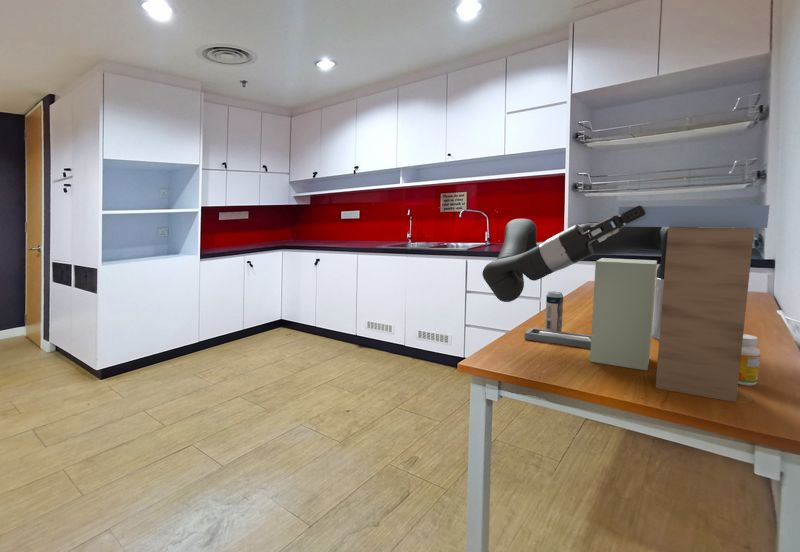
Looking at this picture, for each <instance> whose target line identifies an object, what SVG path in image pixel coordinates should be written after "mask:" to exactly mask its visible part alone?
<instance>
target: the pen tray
mask: <svg viewBox="0 0 800 552" xmlns="http://www.w3.org/2000/svg"><path fill="white" fill-rule="evenodd" d="M540 331H544V332H551V333H559V334H566V335H574V336H581V337H589V338H590V339H591V334H582V333H575V332H567V331H553V330H545V328H544V329H543V328H538V327H530V328H529V329H528V330H527V331H525V332H524V340H528V341H535V342H542V343H550V344H558V345H563V346H564V345H565V346H570V347H576V348H577V347H578V348H584V349H590V350H591V341H588V340H581V339H573V338H566V337H558V336H551V335H544V334H539V332H540Z"/></svg>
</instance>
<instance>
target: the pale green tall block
mask: <svg viewBox="0 0 800 552" xmlns="http://www.w3.org/2000/svg"><path fill="white" fill-rule="evenodd" d="M657 265H658V260H656V259H655V260H651V259H634V258H633V259H632V258H631V259H629V258H627V259H626V258H612V257H611V258H606V257H602V258H599V259H597V260H595V266H594V269H595V270H594V284H593V299H592V300H593V303H592V320H591V334H590V335H591V349H590V353H589V362H590V363H591V362H592V363H598V364H603V365H611V366H615V367H616V366H617V367H623V368H629V369H634V370H642V371H648V369H649V363H650V358H651V345H652V325H653V313H654V300H655V286H656V273H657V268H658V267H657Z"/></svg>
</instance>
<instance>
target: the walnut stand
mask: <svg viewBox="0 0 800 552" xmlns="http://www.w3.org/2000/svg"><path fill="white" fill-rule="evenodd" d="M754 233H755V228H720V227H698V228H677V227H669V228H668V236H667V249H666V261H665V274H664V287H663V299H662V312H661V325H660V337H659V341H658V350H657V351H658V352H657V354H658V355H657V363H656V365H657V366H656V377H655V389H658V390H664V391H670V392H674V393H675V392H676V393H682V394H688V395H693V396H699V397H705V398H710V399H715V400H721V401H727V402H732V403H733V402H734V403H737V400H738V399H737V398H738V389H739V384H738V380H739V370H740V361H741V351H742V341H743V334H744V333H745V332H744V329H745V321H746V311H747V301H748V300H747V299H748V291H749V282H750V273H751V263H752V262H751V261H752V254H753V253H752V252H753V243H754Z"/></svg>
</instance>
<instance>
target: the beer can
mask: <svg viewBox="0 0 800 552" xmlns="http://www.w3.org/2000/svg"><path fill="white" fill-rule="evenodd" d="M545 301H546V302H545V322H544V324H545V325H544V329H545V330H553V331H561V332H563V310H564V309H563V308H564V307H563V306H564V295H563V293H562V292H559V291H548V292H547V294H546V300H545Z"/></svg>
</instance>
